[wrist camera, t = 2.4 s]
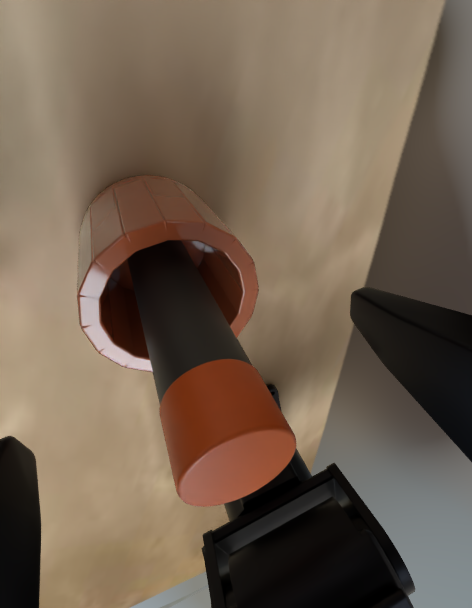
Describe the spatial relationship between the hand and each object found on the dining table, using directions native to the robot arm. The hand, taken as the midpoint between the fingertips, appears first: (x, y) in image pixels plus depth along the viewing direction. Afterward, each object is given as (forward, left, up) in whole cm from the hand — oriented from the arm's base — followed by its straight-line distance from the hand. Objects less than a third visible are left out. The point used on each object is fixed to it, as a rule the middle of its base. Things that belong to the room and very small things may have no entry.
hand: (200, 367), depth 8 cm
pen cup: (0, 0, -8) cm, 8 cm away
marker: (0, 0, -7) cm, 7 cm away
